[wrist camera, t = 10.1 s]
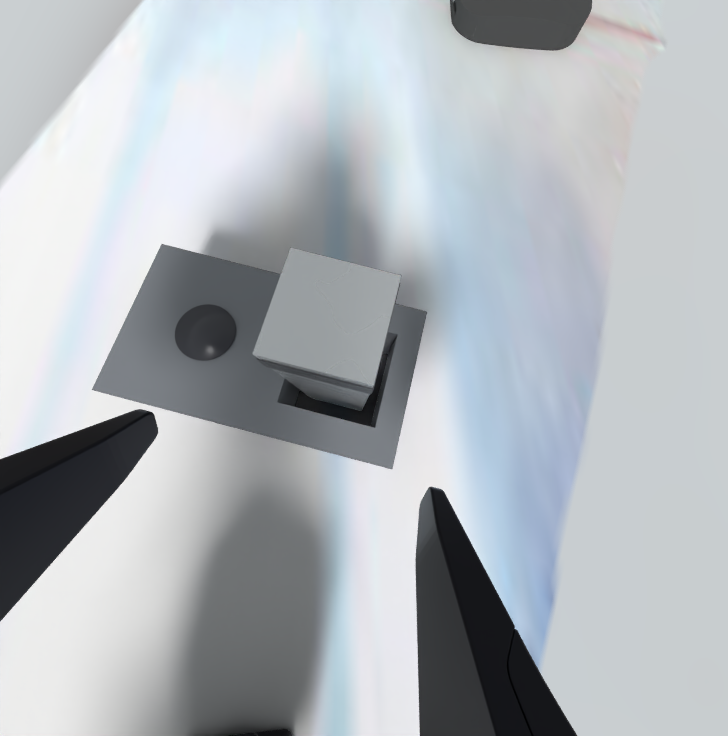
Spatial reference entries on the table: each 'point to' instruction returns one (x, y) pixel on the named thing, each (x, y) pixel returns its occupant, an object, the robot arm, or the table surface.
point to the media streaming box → (521, 22)
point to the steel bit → (328, 327)
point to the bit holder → (242, 359)
